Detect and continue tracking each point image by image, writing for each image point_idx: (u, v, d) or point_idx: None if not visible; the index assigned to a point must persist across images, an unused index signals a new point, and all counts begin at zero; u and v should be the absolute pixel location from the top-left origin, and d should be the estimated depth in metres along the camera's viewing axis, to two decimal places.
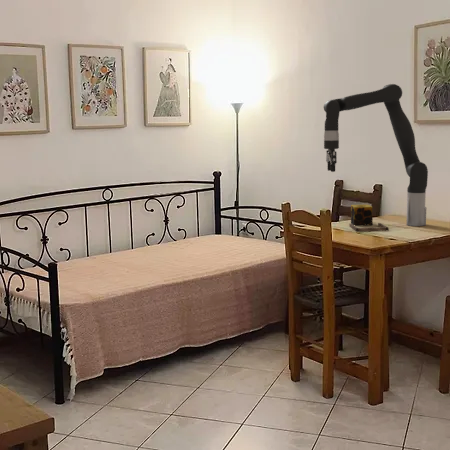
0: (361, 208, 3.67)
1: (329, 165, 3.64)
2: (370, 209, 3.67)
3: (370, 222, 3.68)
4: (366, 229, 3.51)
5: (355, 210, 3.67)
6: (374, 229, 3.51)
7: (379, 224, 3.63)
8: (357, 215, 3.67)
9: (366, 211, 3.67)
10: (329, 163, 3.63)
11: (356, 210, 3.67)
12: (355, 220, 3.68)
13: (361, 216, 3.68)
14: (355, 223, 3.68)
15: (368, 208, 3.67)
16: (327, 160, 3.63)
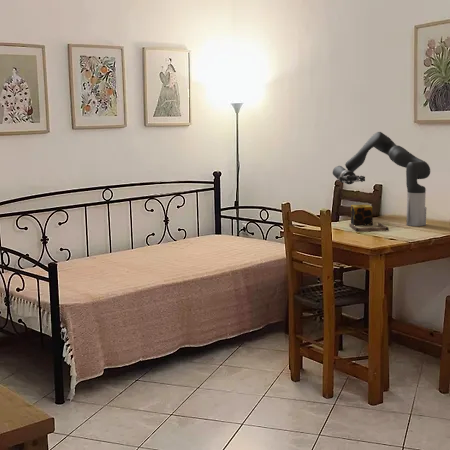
0: (361, 208, 3.67)
1: (360, 179, 3.87)
2: (370, 209, 3.67)
3: (370, 222, 3.68)
4: (366, 229, 3.51)
5: (355, 210, 3.67)
6: (374, 229, 3.51)
7: (379, 224, 3.63)
8: (357, 215, 3.67)
9: (366, 211, 3.67)
10: (360, 179, 3.88)
11: (356, 210, 3.67)
12: (355, 220, 3.68)
13: (361, 216, 3.68)
14: (355, 223, 3.68)
15: (368, 208, 3.67)
16: None
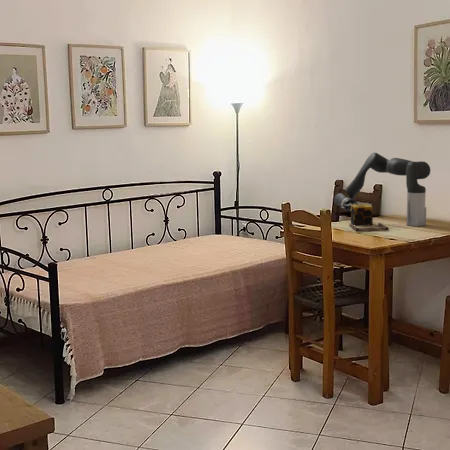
0: (361, 208, 3.67)
1: None
2: (370, 209, 3.67)
3: (370, 222, 3.68)
4: (366, 229, 3.51)
5: (355, 210, 3.67)
6: (374, 229, 3.51)
7: (379, 224, 3.63)
8: (357, 215, 3.67)
9: (366, 211, 3.67)
10: None
11: (356, 210, 3.67)
12: (355, 220, 3.68)
13: (361, 216, 3.68)
14: (355, 223, 3.68)
15: (368, 208, 3.67)
16: None
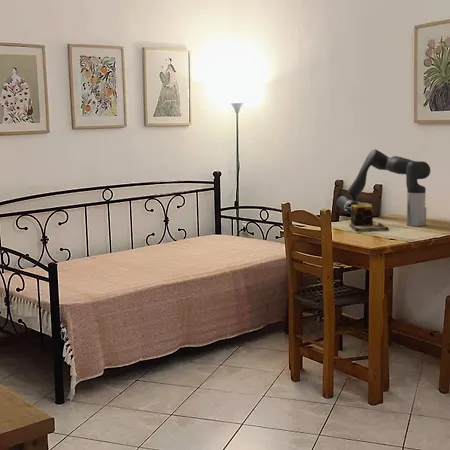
0: (361, 208, 3.67)
1: None
2: (371, 209, 3.67)
3: (370, 222, 3.67)
4: (366, 229, 3.51)
5: (355, 210, 3.67)
6: (374, 229, 3.51)
7: (379, 224, 3.63)
8: (357, 215, 3.67)
9: (366, 211, 3.67)
10: None
11: (356, 210, 3.67)
12: (355, 220, 3.67)
13: (361, 216, 3.67)
14: (355, 223, 3.68)
15: (368, 208, 3.66)
16: None
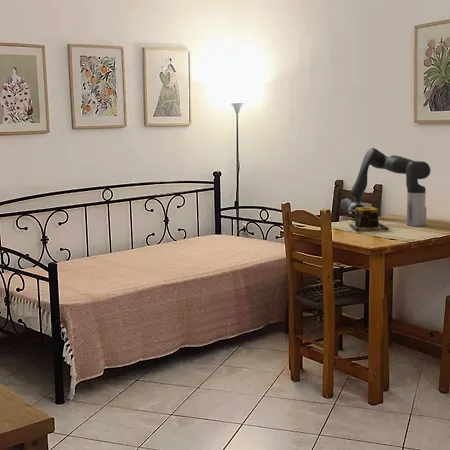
0: (367, 211, 3.56)
1: None
2: (376, 212, 3.56)
3: (376, 225, 3.57)
4: (366, 229, 3.51)
5: (361, 213, 3.56)
6: (374, 229, 3.51)
7: (379, 224, 3.63)
8: (363, 218, 3.56)
9: (372, 214, 3.56)
10: None
11: (362, 213, 3.56)
12: (361, 223, 3.56)
13: (367, 219, 3.56)
14: (361, 226, 3.56)
15: (374, 211, 3.56)
16: None
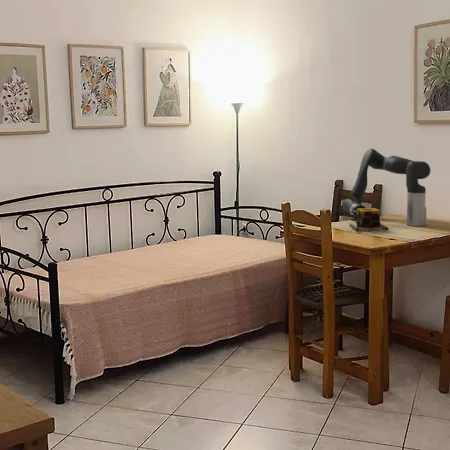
0: (368, 212, 3.52)
1: None
2: (378, 213, 3.52)
3: (378, 226, 3.53)
4: (366, 229, 3.51)
5: (362, 214, 3.52)
6: (374, 229, 3.51)
7: None
8: (364, 219, 3.53)
9: (374, 215, 3.53)
10: None
11: (363, 214, 3.52)
12: (362, 224, 3.53)
13: (368, 220, 3.53)
14: None
15: (376, 212, 3.52)
16: None
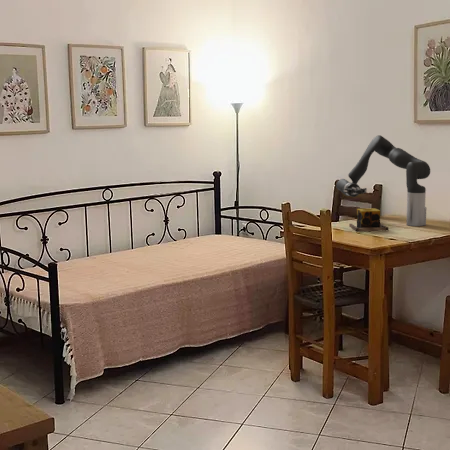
0: (369, 212, 3.52)
1: None
2: (378, 213, 3.52)
3: (378, 226, 3.53)
4: (366, 229, 3.51)
5: (362, 214, 3.52)
6: (374, 229, 3.51)
7: None
8: (364, 219, 3.52)
9: (374, 215, 3.52)
10: None
11: (364, 214, 3.52)
12: (362, 225, 3.53)
13: (369, 220, 3.53)
14: None
15: (376, 212, 3.52)
16: None
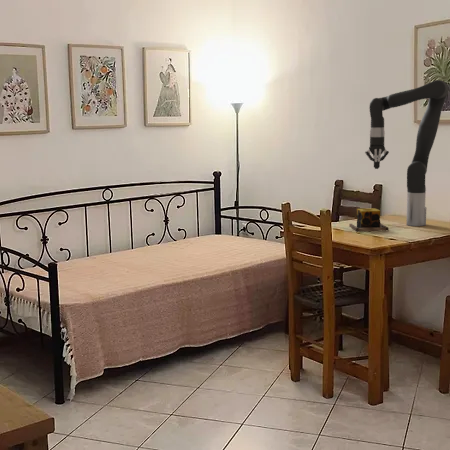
0: (369, 212, 3.52)
1: None
2: (378, 213, 3.52)
3: (378, 226, 3.53)
4: (366, 229, 3.51)
5: (362, 214, 3.52)
6: (374, 229, 3.51)
7: None
8: (364, 219, 3.52)
9: (374, 215, 3.52)
10: None
11: (364, 214, 3.52)
12: (362, 225, 3.53)
13: (369, 220, 3.53)
14: None
15: (376, 212, 3.52)
16: None
